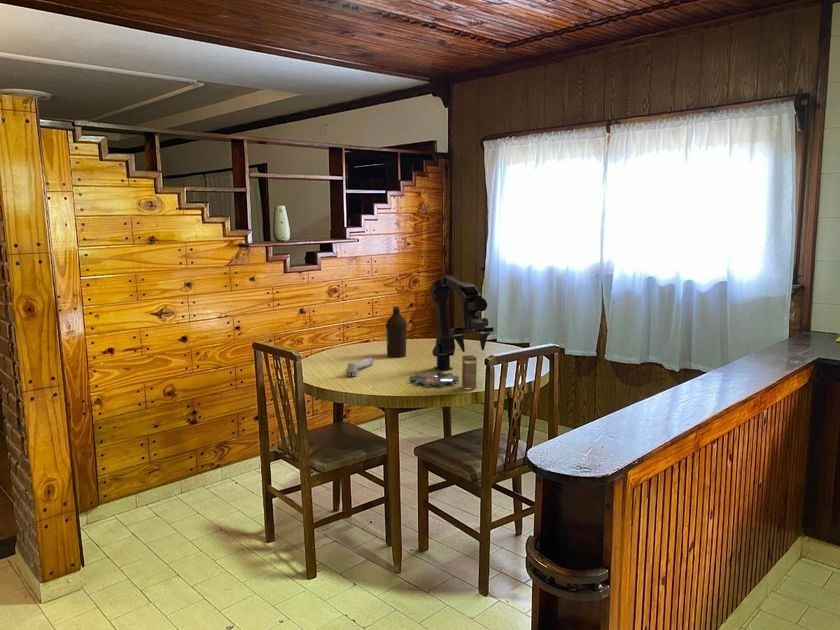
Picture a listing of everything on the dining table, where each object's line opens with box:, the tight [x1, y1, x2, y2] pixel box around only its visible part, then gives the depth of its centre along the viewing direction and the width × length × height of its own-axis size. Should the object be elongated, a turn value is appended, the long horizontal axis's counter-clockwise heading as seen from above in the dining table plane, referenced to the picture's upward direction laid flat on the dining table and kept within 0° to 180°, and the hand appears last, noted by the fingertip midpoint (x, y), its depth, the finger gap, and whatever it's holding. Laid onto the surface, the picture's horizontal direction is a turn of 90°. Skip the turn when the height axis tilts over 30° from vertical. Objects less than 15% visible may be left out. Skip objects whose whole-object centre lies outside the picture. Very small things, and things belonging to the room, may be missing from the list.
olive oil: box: [385, 305, 408, 359], centre depth 311 cm, size 11×11×25 cm
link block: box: [461, 354, 478, 389], centre depth 253 cm, size 5×5×13 cm
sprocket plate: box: [408, 371, 460, 389], centre depth 264 cm, size 21×21×2 cm
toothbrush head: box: [344, 357, 374, 378], centre depth 282 cm, size 5×7×25 cm
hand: (473, 351), depth 260 cm, fingers open, 9 cm apart
